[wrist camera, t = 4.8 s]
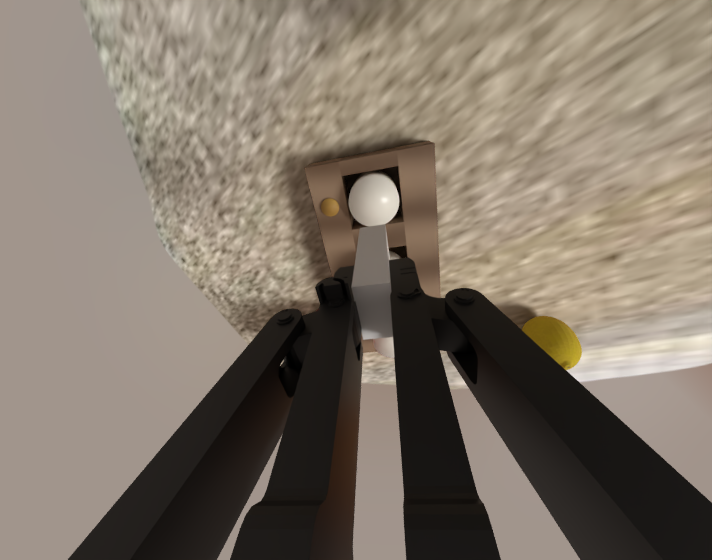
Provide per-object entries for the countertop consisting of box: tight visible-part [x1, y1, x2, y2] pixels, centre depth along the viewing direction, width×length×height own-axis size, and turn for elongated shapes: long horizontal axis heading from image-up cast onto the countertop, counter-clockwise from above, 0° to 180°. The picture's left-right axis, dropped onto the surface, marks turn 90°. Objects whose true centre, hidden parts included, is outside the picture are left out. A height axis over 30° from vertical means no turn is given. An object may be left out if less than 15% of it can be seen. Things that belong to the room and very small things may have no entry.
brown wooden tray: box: [304, 141, 441, 353], centre depth 33 cm, size 24×12×3 cm, turn 10°
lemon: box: [522, 316, 582, 370], centre depth 34 cm, size 6×6×8 cm
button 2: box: [373, 337, 394, 358], centre depth 34 cm, size 5×5×3 cm
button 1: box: [349, 170, 399, 227], centre depth 28 cm, size 5×5×3 cm
